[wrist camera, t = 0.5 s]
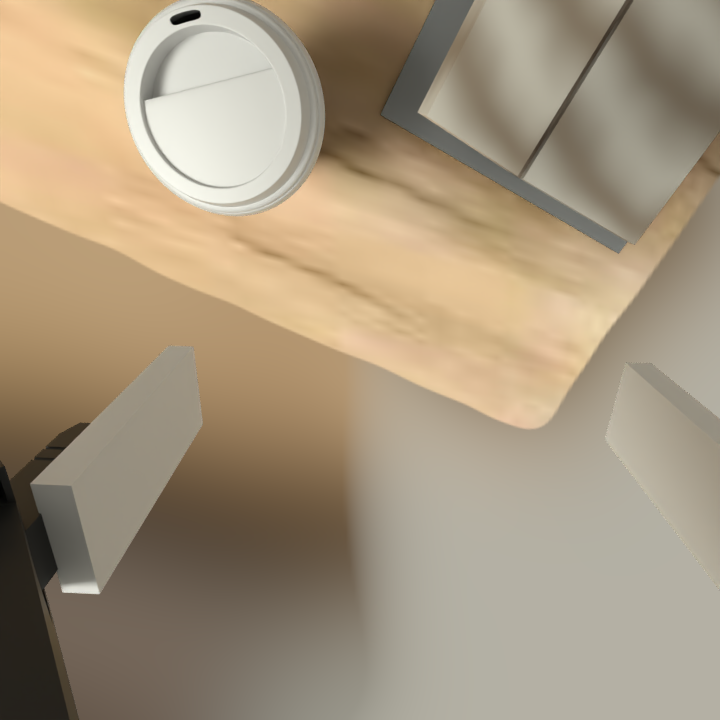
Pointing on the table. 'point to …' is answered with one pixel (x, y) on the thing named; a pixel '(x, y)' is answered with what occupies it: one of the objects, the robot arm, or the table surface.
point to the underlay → (404, 112)
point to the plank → (514, 72)
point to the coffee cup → (224, 105)
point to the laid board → (635, 116)
